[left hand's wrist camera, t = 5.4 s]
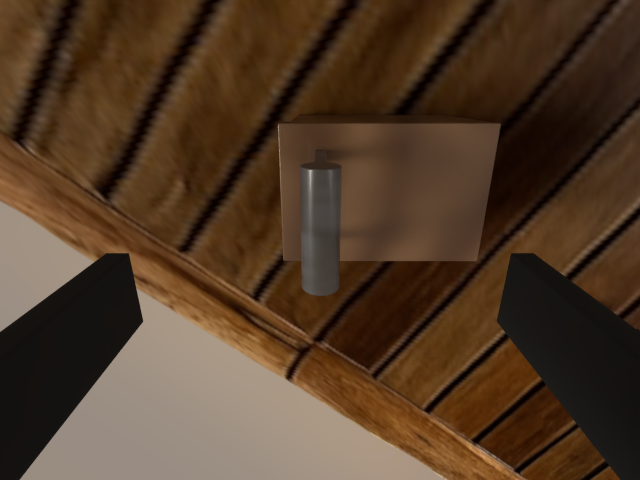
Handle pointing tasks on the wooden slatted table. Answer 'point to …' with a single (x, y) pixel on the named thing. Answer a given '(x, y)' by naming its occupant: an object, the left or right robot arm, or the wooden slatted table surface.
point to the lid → (382, 193)
